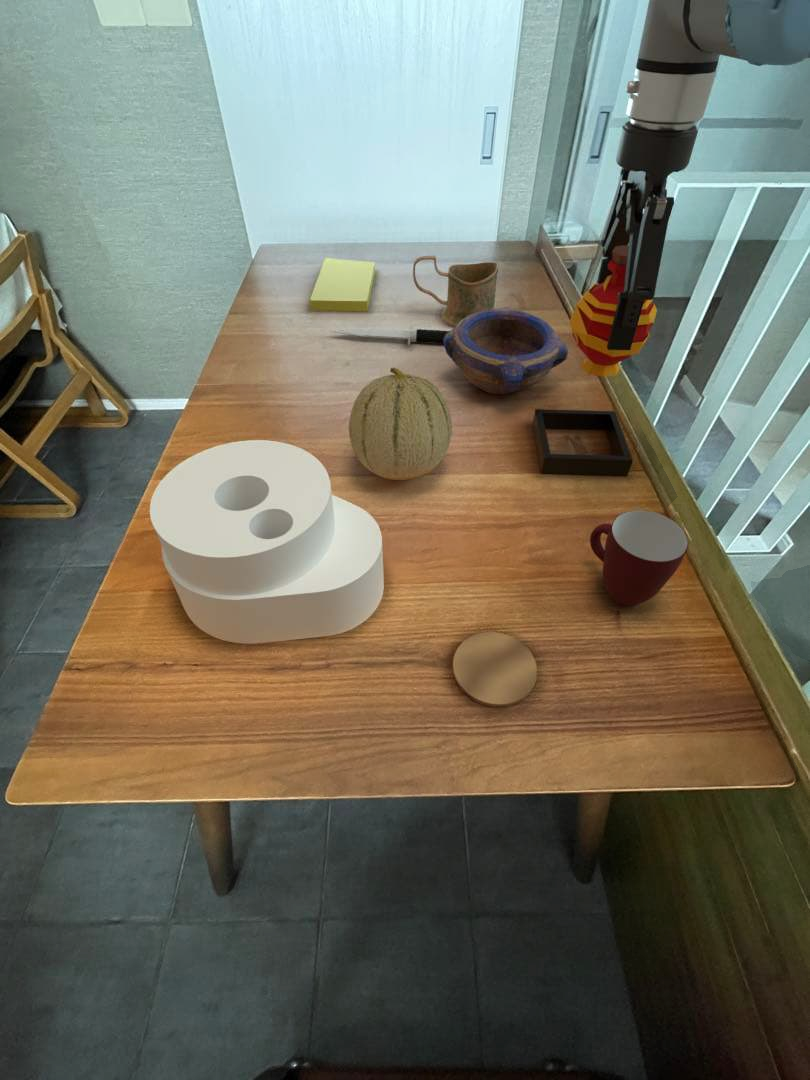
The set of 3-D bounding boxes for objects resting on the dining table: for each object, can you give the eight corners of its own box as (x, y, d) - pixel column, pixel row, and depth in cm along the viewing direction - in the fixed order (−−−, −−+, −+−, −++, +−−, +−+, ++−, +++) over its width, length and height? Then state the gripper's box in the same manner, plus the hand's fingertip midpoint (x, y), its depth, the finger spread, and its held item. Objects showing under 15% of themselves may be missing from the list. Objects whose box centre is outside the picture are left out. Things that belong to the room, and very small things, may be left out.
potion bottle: (593, 342, 85) (619, 230, 74) (655, 369, 79) (693, 253, 69) (545, 365, 80) (566, 249, 70) (607, 395, 75) (640, 275, 64)
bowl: (497, 422, 95) (505, 367, 88) (430, 377, 106) (431, 323, 99) (573, 388, 103) (585, 334, 96) (503, 348, 113) (509, 296, 106)
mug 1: (413, 304, 127) (414, 245, 118) (495, 305, 127) (501, 246, 118) (412, 328, 119) (412, 267, 110) (498, 330, 118) (506, 268, 110)
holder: (627, 476, 86) (633, 460, 84) (541, 473, 86) (544, 457, 84) (610, 426, 95) (615, 411, 92) (532, 424, 95) (535, 409, 93)
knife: (461, 326, 114) (460, 338, 111) (460, 338, 116) (459, 350, 113) (331, 319, 116) (326, 330, 113) (332, 330, 118) (327, 342, 115)
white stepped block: (359, 667, 63) (350, 586, 53) (149, 626, 67) (105, 543, 57) (400, 539, 77) (399, 455, 67) (224, 511, 81) (199, 428, 71)
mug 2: (560, 580, 72) (577, 521, 65) (598, 548, 76) (618, 489, 68) (635, 632, 66) (663, 574, 59) (672, 595, 70) (702, 536, 63)
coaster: (552, 664, 63) (553, 661, 63) (506, 724, 59) (507, 721, 58) (483, 621, 67) (483, 618, 67) (435, 673, 63) (435, 670, 62)
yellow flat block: (367, 311, 125) (375, 267, 141) (366, 301, 123) (375, 258, 140) (310, 310, 125) (326, 267, 142) (309, 300, 123) (325, 257, 140)
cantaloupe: (385, 515, 80) (381, 422, 69) (333, 459, 89) (323, 370, 78) (470, 476, 86) (479, 386, 75) (414, 428, 94) (415, 341, 84)
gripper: (603, 102, 69) (567, 291, 84) (652, 147, 52) (596, 372, 68) (668, 102, 68) (620, 292, 84) (737, 148, 52) (661, 373, 68)
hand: (609, 328), depth 76 cm, fingers closed on potion bottle, 10 cm apart
